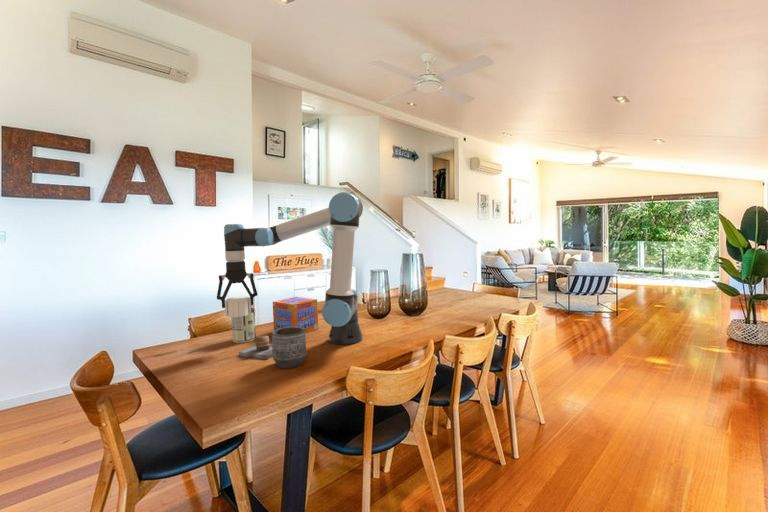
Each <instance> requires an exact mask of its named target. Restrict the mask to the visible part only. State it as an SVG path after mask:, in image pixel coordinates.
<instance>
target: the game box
mask: <svg viewBox="0 0 768 512" xmlns="http://www.w3.org/2000/svg"><path fill="white" fill-rule="evenodd" d="M318 308H319V307H318V299H317V298H310V297H302V296H294V297H288V298H283V299H280V300H278V299H277V300H274V301H272V319H273V331H274V330H276V329H279V328H283V327H302V328H304V329H305V334H308V333H310V332H314V331H317V330H319V312H318V311H319V309H318Z"/></svg>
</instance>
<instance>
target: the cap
mask: <svg viewBox="0 0 768 512" xmlns="http://www.w3.org/2000/svg"><path fill="white" fill-rule="evenodd" d="M248 297H249V296H234V297H233V296H232V297H229V298H227V299H226V300H227V315H228V316H227V317H229V318H231V317H241V316H246V315H249V300H248Z"/></svg>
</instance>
